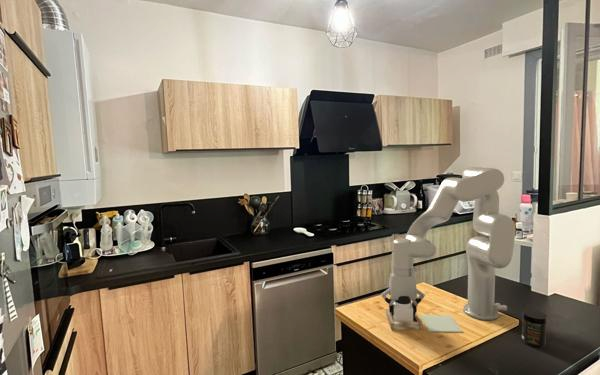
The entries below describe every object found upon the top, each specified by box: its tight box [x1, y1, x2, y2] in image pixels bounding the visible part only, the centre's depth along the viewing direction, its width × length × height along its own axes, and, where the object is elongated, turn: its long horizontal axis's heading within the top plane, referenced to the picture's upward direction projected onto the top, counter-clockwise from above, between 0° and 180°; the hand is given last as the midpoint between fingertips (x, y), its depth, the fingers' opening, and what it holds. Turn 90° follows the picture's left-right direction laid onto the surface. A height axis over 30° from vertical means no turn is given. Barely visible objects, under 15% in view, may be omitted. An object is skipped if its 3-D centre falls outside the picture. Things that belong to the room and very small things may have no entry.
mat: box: [419, 314, 464, 333], centre depth 125 cm, size 12×12×1 cm
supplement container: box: [521, 309, 548, 349], centre depth 110 cm, size 7×7×10 cm
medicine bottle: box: [392, 296, 414, 322], centre depth 127 cm, size 7×7×12 cm
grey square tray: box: [385, 308, 423, 331], centre depth 127 cm, size 11×11×2 cm
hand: (402, 313), depth 127 cm, fingers closed on medicine bottle, 7 cm apart
